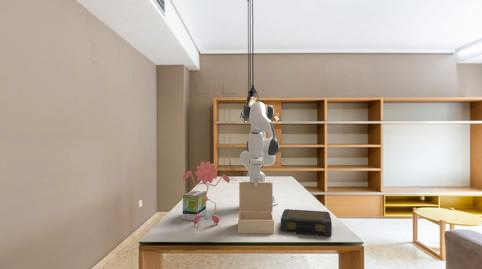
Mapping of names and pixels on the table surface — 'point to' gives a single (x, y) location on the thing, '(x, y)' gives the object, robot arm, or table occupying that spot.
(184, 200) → the tea box
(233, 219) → the table surface
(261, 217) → the mailer box
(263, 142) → the robot arm
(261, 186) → the lid
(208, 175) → the figurine
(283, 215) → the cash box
